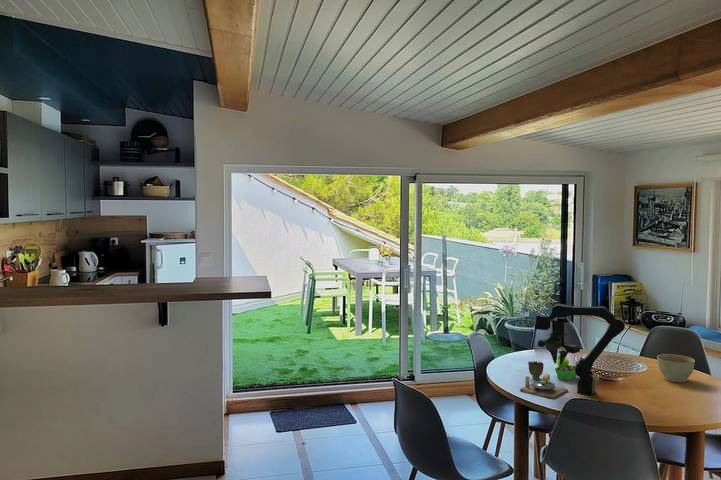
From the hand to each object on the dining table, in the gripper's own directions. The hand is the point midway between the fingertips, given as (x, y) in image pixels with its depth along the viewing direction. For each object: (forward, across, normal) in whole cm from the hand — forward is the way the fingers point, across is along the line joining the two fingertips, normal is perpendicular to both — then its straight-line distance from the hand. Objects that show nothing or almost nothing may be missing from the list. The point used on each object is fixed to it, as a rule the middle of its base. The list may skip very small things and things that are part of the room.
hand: (558, 364), depth 250 cm
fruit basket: (+12, -7, +20) cm, 25 cm away
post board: (+12, -3, -8) cm, 15 cm away
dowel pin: (+12, -10, -10) cm, 18 cm away
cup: (+12, -16, +7) cm, 21 cm away
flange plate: (+10, -4, -6) cm, 12 cm away
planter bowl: (+12, +30, +57) cm, 66 cm away
